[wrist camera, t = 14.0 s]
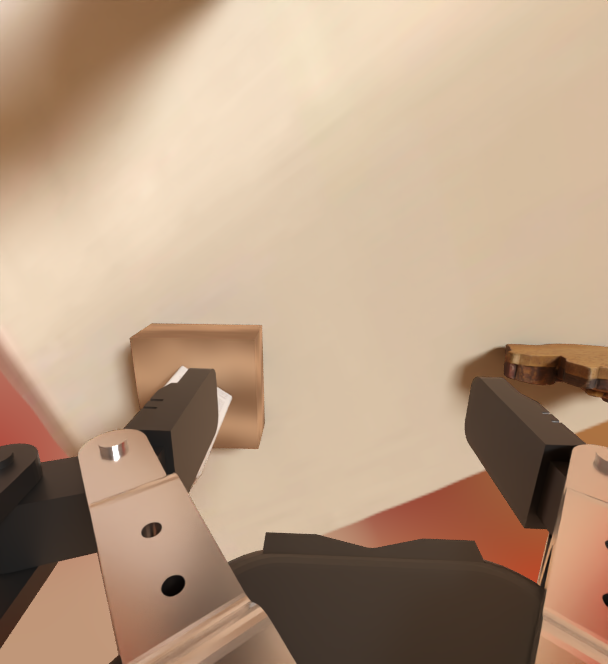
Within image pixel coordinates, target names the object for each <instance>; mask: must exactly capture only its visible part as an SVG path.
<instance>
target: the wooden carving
mask: <svg viewBox="0 0 608 664" xmlns="http://www.w3.org/2000/svg"><path fill="white" fill-rule="evenodd" d="M505 354H506V357H505V363H504V375H505V376H506V377H508V378H511V379H516V380H519V381H522V382H526V383H530V384H539V385H546V384H548V385H551V384H554V383H555V381H558V382H565V383H568V384H571V385H574V386H577V387H580V388H581V389H583V390H585V392H586V393H587V394H588V395H591V396H595V397H601V398H602V400H603V401H605V402H608V347H602V346H591V345H577V344H545V345H523V344H507V345H506V350H505Z"/></svg>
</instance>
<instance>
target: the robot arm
mask: <svg viewBox="0 0 608 664" xmlns="http://www.w3.org/2000/svg"><path fill="white" fill-rule="evenodd" d="M217 427H218V397H217V380H216V372H215V370H214V369H209V368H189V369H188V370H187V371H186V373H185V374H184V375H183V376H182V378H181V379H180V380H179V381H178V383H170V384H168V385H166V386H164V387H163V388H161V389H159V390H158V391H157V392H156V393H155V394H154V395H153V396H152V397H151V398H150V401H148V402H147V403H146V404H145V405H144V406H143V409H141V410H140V411H139V412H138V413H137V414H136V415H135V417H134V418H133V419H132V420H131V421H130V422H129V423H128V424H127V426H126V427H125V428H124V429H119V430H113V431H109V432H106V433H103V434H100V435H98V436H96V437H94V438H92V439H91V440H89V441H88V442H86V443H85V444H84V445H83V446H82V447H81V449H80V450H79V453H78V456H77V457H72V458H66V459H60V460H54V461H47V462H41V463H40V458H39V454H38V450H37V449H36V448H35V447H34V446H32V445H29V444H10V445H5V446H1V447H0V648H1V647H2V645H3V644H4V642H5V641H6V639H7V638H8V636H9V634H10V633H11V632H12V630H13V629H14V627H15V626H16V624H17V623H18V621H19V620H20V618H21V617H22V615H23V614H24V612H25V611H26V609H27V608H28V606H29V605H30V603H31V602H32V600H33V599H34V598H35V596H36V595H37V593H38V592H39V590H40V588H41V587H42V586H43V584H44V583H45V581H46V580H47V578H48V577H49V575H50V574H51V572H52V571H53V569H54V568H55V566H56V564H57V563H58V561H62V560H67V559H71V558H75V557H80V556H84V555H88V554H92V553H97V554H98V559H99V563H100V568H101V573H102V577H103V583H104V587H105V592H106V597H107V602H108V606H109V611H110V616H111V621H112V626H113V631H114V636H115V641H116V645H117V650H118V656H117V657H116V658H115V659H114V660H113V661H112V662H110V663H109V664H608V448H607V447H603V446H597V445H588V444H586V443H584V442H583V441H582V440H581V439H580V438H579V437H578V436H576V435H575V434H574V433H573V432H572V431H571V430H569V429H568V428H567V427H566V426H565V425H564V424H562V423H559V420H558V419H557V418H555V417H554V416H553V415H552V414H549V411H547V410H546V409H545V408H544V407H543V406H542V405H540V404H539V403H538V402H536V401H534V400H532V399H530V398H528V397H526V396H525V395H523V394H521V393H520V392H518V391H517V390H516V389H515V388H514V387H513V386H512V385H511V384H509V383H508V382H507V381H506V380H505V379H504V378H498V377H475V378H474V380H473V382H472V385H471V390H470V396H469V402H468V407H467V413H466V419H465V435H466V438H467V441H468V443H469V445H470V446H471V448H472V449H473V451H474V452H475V454H476V455H477V457H478V458H479V460H480V461H481V463H482V465H483V466H484V468H485V469H486V471H487V472H488V474H489V475H490V477H491V478H492V480H493V481H494V483H495V484H496V486H497V487H498V489H499V490H500V492H501V493H502V495H503V497H504V498H505V500H506V501H507V503H508V504H509V506H510V507H511V509H512V510H513V512H514V513H515V515H516V516H517V518H518V519H519V521H520V522H521V524H522V525H523V527H524V528H531V529H547V530H548V531H549V535H548V539H547V542H546V546H545V550H544V555H543V559H542V564H541V568H540V573H539V577H538V582H537V583H535V582H533V581H532V580H530V579H528V578H526V577H525V576H523V575H521V574H519V573H517V572H515V571H513V570H511V569H508V568H506V567H504V566H501V565H498V564H496V563H493V562H490V561H487V560H483V558H482V556H481V554H480V551H479V549H478V547H477V545H476V543H475V541H467V540H443V539H442V540H441V539H419V540H414V541H408V542H403V543H399V544H393V545H388V546H383V547H378V548H366V547H363V546H359V545H355V544H351V543H347V542H344V541H340V540H336V539H332V538H328V537H324V536H321V535H317V534H293V533H269V532H266V535H265V541H264V548H263V550H260V551H256V552H252V553H249V554H246V555H243V556H241V557H238V558H236V559H234V560H231V561H229V562H227V561H226V559H225V557H224V555H223V554H222V552H221V550H220V548H219V547H218V545H217V543H216V541H215V540H214V538H213V536H212V534H211V533H210V531H209V529H208V527H207V526H206V524H205V522H204V520H203V519H202V517H201V515H200V513H199V511H198V510H197V508H196V506H195V504H194V503H193V501H192V499H191V497H190V496H189V491H190V489H191V487H192V485H193V483H194V480H195V478H196V476H197V474H198V472H199V469H200V467H201V465H202V463H203V461H204V458H205V456H206V454H207V452H208V449H209V447H210V445H211V443H212V441H213V438H214V436H215V434H216V431H217Z"/></svg>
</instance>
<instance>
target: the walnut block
mask: <svg viewBox="0 0 608 664" xmlns="http://www.w3.org/2000/svg"><path fill="white" fill-rule="evenodd" d="M130 343H131V350H132V357H133V364H134V371H135V379H136V386H137V393H138V400H139V407H140V410H141V409H143V406H144V405H145V404H146V403H147V402H148V401H150V398H151V397H152V396H153V395H154V394H155V393H156V392H157V391H158V390H159V389H161V388H163V387H164V386H165V385H166V384H167V382H168V381H169V380H170V379H171V378H172V376H173V375H174V374H175V373H176V372H177V371H178V369H179V368H180V367H181V366H184V367H186V368H187V369H189V368H209V369H214V370H215V372H216V380H217V387H218V388H220V389H221V390H223V391H224V392H226V393H228V394H229V395H231V396H232V400H231V402H230V405H229V407H228V410H227V412H226V414H225V417H224V419H223V422H222V424H221V427H220V429H219V432H218V434H217V437H216V439H215V442H214V444H213V447H212V448H243V449H258V448H259V444H260V440H261V436H262V432H263V428H264V424H265V416H264V381H263V345H262V325H216V324H153V323H152V324H150V325H149V326H147V327H146V328H144V329H143V330H141V331H140V332H138V333H137V334H135V335H133V336H132V337H130Z"/></svg>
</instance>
